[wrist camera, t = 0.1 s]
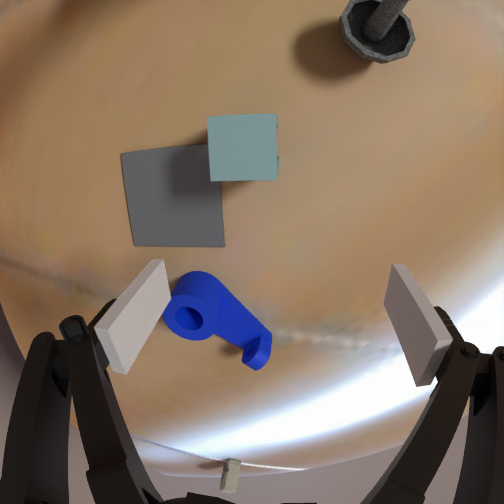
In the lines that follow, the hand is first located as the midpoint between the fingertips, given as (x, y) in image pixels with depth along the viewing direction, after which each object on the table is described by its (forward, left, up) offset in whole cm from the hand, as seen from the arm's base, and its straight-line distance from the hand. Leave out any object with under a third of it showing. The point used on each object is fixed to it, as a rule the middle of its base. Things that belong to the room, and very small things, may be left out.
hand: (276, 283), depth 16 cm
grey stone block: (+91, -14, -28) cm, 96 cm away
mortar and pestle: (-23, +13, -28) cm, 38 cm away
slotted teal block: (-6, -4, -28) cm, 29 cm away
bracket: (+23, -10, -28) cm, 38 cm away
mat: (+2, -17, -28) cm, 33 cm away
